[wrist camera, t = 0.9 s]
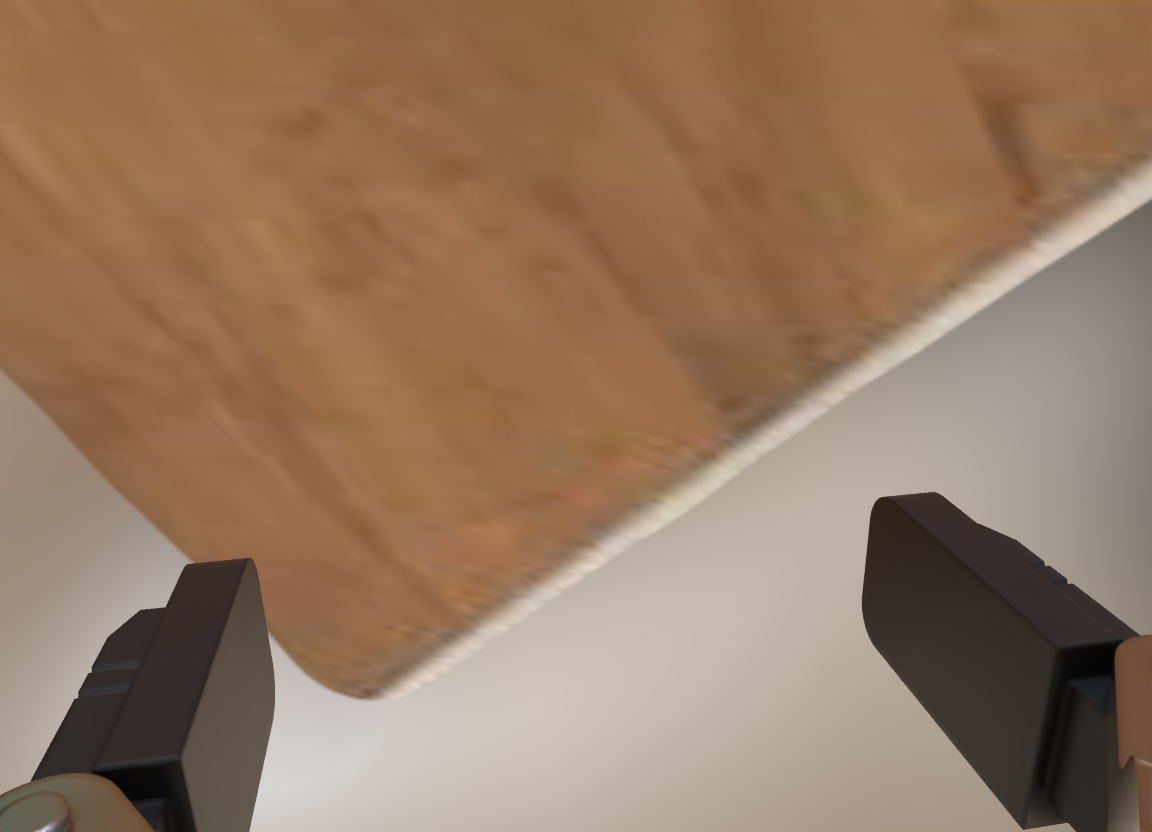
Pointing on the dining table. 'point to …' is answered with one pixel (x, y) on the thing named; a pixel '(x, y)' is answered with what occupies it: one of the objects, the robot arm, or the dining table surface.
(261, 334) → the dining table surface
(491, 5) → the dining table surface
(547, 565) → the dining table surface
